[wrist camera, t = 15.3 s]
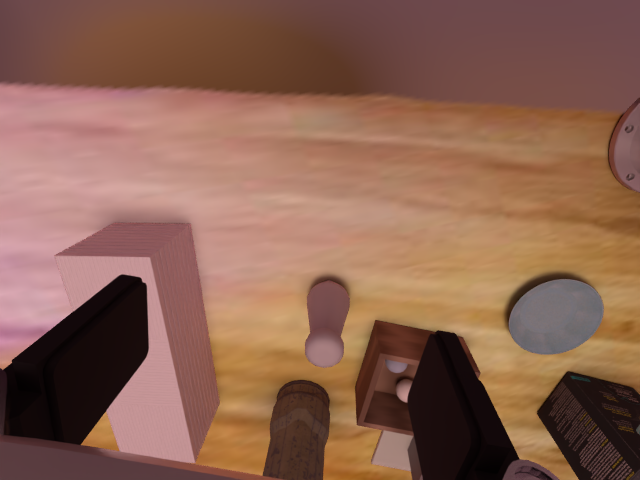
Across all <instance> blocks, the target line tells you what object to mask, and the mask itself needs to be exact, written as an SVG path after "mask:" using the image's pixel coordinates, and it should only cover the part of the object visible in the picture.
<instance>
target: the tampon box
mask: <svg viewBox="0 0 640 480" xmlns="http://www.w3.org/2000/svg"><path fill="white" fill-rule="evenodd" d="M537 415H538V416H539V418H540V419H541V421H542V422H543V424H544V425H545V427H546V428H547V430H548V431H549V433H550V435H551V436H552V438H553V439H554V441H555V442H556V444H557V446H558V447H559V449H560V450H561V452H562V454H563V455H564V457H565V458H566V460H567V461H568V463H569V464H570V466H571V468H572V469H573V471H574V472H575V474H576V476H577V477H578V479H579V480H640V395H639V394H638V393H637V392H636V391H635V390H634V389H633V388H631V387H627V386H623V385H620V384H616V383H612V382H608V381H604V380H600V379H596V378H592V377H588V376H584V375H580V374H576V373H572V372H567V374H566V375H565V377H564V378H563V379H562V381H561V382H560V383H559V385H558V386H557V387H556V389H555V390H554V391H553V393H552V394H551V395H550V397H549V398H548V400H547V401H546V402H545V404H544V405H543V406H542V408H541V409H540V410H539V412H538V413H537Z"/></svg>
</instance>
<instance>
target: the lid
mask: <svg viewBox="0 0 640 480" xmlns="http://www.w3.org/2000/svg"><path fill="white" fill-rule="evenodd" d="M371 464H375V465H381V466H386V467H391V468H396V469H402V470H407V471H411V473H412V479H413V480H423V477H422V472H421V468H420V463H419V458H418V453H417V449H416V444H415V439H414V436H410V435H405V434H400V433H395V432H390V431H385V430H382V432H381V435H380V437H379V440H378V443H377V446H376V448H375V451H374V454H373V456H372V459H371Z"/></svg>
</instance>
